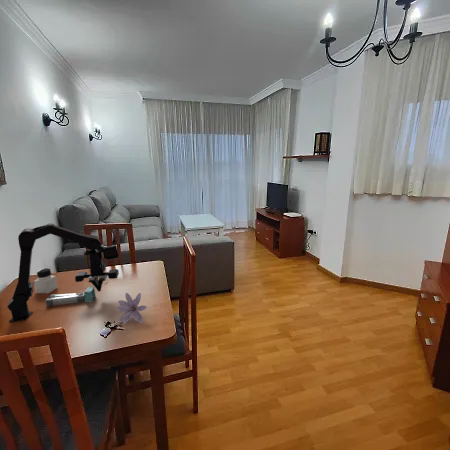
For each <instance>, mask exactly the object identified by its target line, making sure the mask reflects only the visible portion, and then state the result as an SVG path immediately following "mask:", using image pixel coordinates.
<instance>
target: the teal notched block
mask: <svg viewBox="0 0 450 450" xmlns="http://www.w3.org/2000/svg"><path fill="white" fill-rule="evenodd" d="M95 289H96V288H95V286H88V287H87V288H86V289H85V291H84V292H83V293H84V294H85V303H91V302H94V300H93V298H96V291H95Z"/></svg>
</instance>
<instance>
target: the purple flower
mask: <svg viewBox="0 0 450 450" xmlns="http://www.w3.org/2000/svg"><path fill="white" fill-rule="evenodd" d="M141 298H142V294H141V292H138V294H137V295H136V297H135V298H134V299H133V298H132V296H131V295H130V294H129V292H126V293H125V300H126V301H125V300H118V301H117V303H118V305H119V306H117V307H116V308H115V310H116V311H117V312H121V313H123V312H125V313H123V314H122V315H121V316H120V317H119V319H118V323H119V322H120V323H123V325H124V324H126V323H128V322H129V320H130V319H131V318H132V317H133V319H134V321H136V322H138V323H140V324H143V322H144V321H143V316H142V314H141V313H140V312H142V311H145V310H146V309H147V308H148V307H147V306H146V305H139V304H140V302H141Z"/></svg>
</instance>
